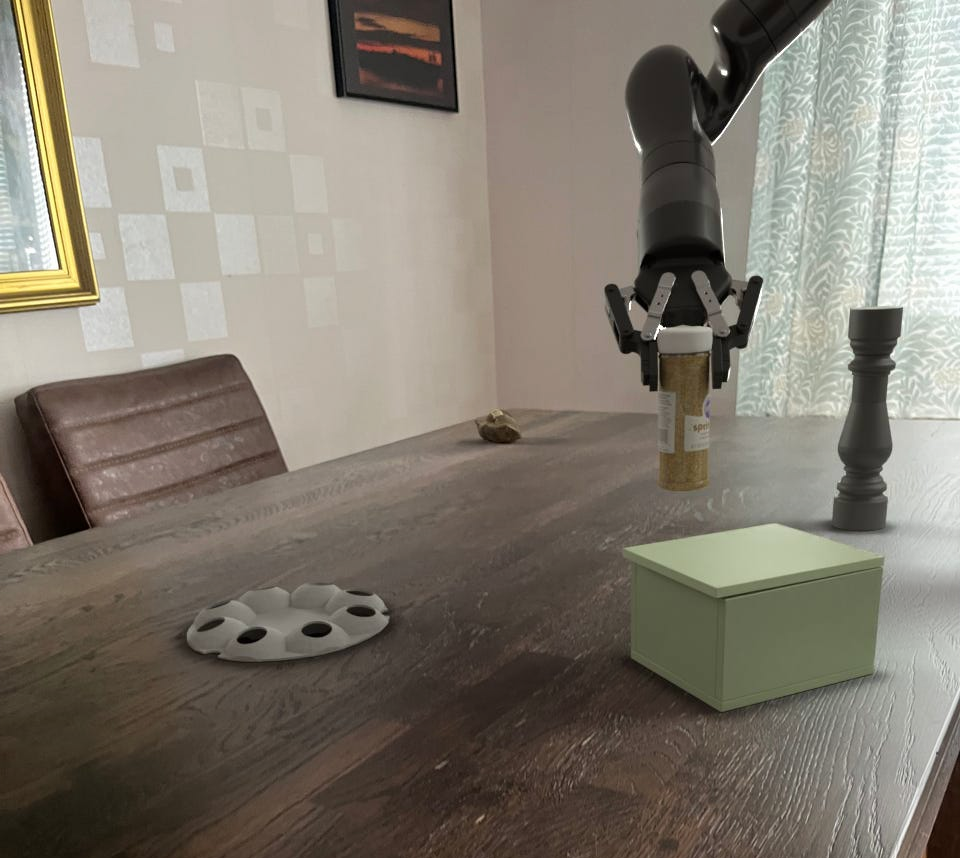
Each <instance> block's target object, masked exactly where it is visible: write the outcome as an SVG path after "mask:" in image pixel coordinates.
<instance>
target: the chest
mask: <svg viewBox="0 0 960 858" xmlns="http://www.w3.org/2000/svg"><path fill="white" fill-rule="evenodd" d="M630 563H631V564H630V592H631V593H630V659H631V660H633V661H636V663H638V664H639V665H642V666H643V667H645V668H647V669H648V670H650V671H651V672H653V673H655V674H657V675H658V676H660V677H662V679H663V678H664V680H667V681H669V682H670V683H671V684H673V685H674V686H677V687H678V688H680V689H682V690H683V691H685V692H687V693H688V694H690V695H692V696H693V697H695V698H697V699H698V700H700V701H702V702H703V703H705V704H707V705H708V706H710V707H711V708H713V709H715V710H716V711H718V712H720V713H723V712H728V711H732V710H736V709H740V708H744V707H747V706H751V705H755V704H759V703H763V702H767V701H771V700H774V699H779V698H782V697H787V696H790V695H794V694H798V693H802V692H806V691H810V690H813V689H818V688H822V687H826V686H829V685H830V686H831V685H834V684H837V683H841V682H845V681H849V680H853V679H857V678H860V677H864V676H869V675H873V674H874V672H875V671H874V670H875V659H876V650H877V649H876V648H877V639H878V638H877V637H878V627H879V616H880V605H881V595H882V585H883V576H884V575H883V573H884V566H881V567H876V568H871V569H866V570H861V571H856V572H850V573H845V574H840V575H835V576H830V577H825V578H819V579H814V580H809V581H804V582H799V583H793V584H788V585H783V586H778V587H773V588H768V589H762V590H757V591H752V592H747V593H742V594H737V595H731V596H726V597H721V598H714V597H712V596H709V595H707V594H705V593H703V592H700V591H698V590H696V589H694V588H691V587H689V586H687V585H684V584H682V583H680V582H678V581H675V580H673V579H671V578H669V577H666V576H664V575H662V574H660V573H657V572H655V571H653V570H651V569H648V568H646V567H644V566H641V565H639V564H637V563H635V562H632V561H630Z"/></svg>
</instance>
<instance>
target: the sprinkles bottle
mask: <svg viewBox="0 0 960 858" xmlns="http://www.w3.org/2000/svg"><path fill="white" fill-rule="evenodd" d="M712 341H713V334H712V329H711V328H710V327H702V326H686V325H685V326H677V327H671V328H666V329H661V330H659V331H658V333H657V347H658V353H659V354H658V391H657V420H658V421H657V448H658V452H659V454H658V455H659V456H658V458H659V460H658V461H659V462H658V464H659V465H658V473H659V474H658V479H657V486H658V487H659V488H661V489H663V490H667V491H673V492H689V491H695V490H700V489H701V490H702V489H704V488H706V487H708V485H709V484H710V478H709V447H710V409H711V408H710V407H711V405H710V403H711V401H710V400H711V396H710V378H711V377H710V372H711V350H712Z"/></svg>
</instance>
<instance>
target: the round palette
mask: <svg viewBox="0 0 960 858" xmlns="http://www.w3.org/2000/svg"><path fill="white" fill-rule="evenodd" d="M357 612H358V613H363V614H366V615H367V616H357V615H354V614H351V613H357ZM385 612H386V613H387V612H389V609H388V608H387V606H386V605H385V603H384V601H383V600H382V599H381V597H379V596H378V595H377V594H375V593H374V592H373V591H370V590H366V589H362V588H354V587H353V588H346V589H343V590H342V589H341V588H339V587H338V586H337V585H335V584H333V583H330V582H329V583H328V582H305V583H304V584H301V585H300V586H298V587H297V588H296V589H295V590H294V591H292V592H291V594H290V593H289V592H288V591H287V590H284V589H283V588H280V587H278V586H268V587H262V588H256V589H255V588H254V589H250V590H248V591H246V592H245V593H244V594H243V595H241V596H240V598H239V599H238V600H231V599H226V600H221V601H219V602H215V603H212V604H209V605H208V606H205V607H203V609H202V610H200V611H199V613H198V614H197V616H196V617H195V619H194V621H193V623H192V624H191V625H190V627H189V628H188V630H187V632H186V643H187V645H188V646H189V647H190V648H191V649H192V650H194V651H195V652H198V653H200V654H202V655H206V654H212V653H218V654H219V655H217V659H221V660H226V661H232V662H233V661H234V662H246V663H247V662H248V663H249V662H250V663H261V662H278V661H288V660H290V661H291V660H297V659H304V658H310V657H311V658H313V657H317V656H318V657H319V656H322V655H327V654H330V653H334V652H338V651H341V650H345V649H347V648H350V647H352V646H356V645H358V644H360V643H363V642H364V641H367V640H368V639H370V638H372V637H374V636H376V635H377V634H379V633H380V632H382V631H383V630H384V629H385V628H386V627H387V625H389V620H390V615H384V614H383V613H385ZM329 630H331V631H330V632H329V633H328V634H327V635H324V636H322V637H321V636H320V637H312V636H309V635H313V634H325V633H327V632H328V631H329ZM242 638H248V639H249V640H252V641H254V640H258V641H255V642H252V643H240V642H238V639H242Z"/></svg>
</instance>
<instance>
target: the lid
mask: <svg viewBox="0 0 960 858" xmlns="http://www.w3.org/2000/svg"><path fill="white" fill-rule="evenodd" d="M622 558H623V559H626V560H627V561H630V562H631V561H632V562H635V563H637V564H639V565H641V566H644V567H646V568H648V569H651V570H653V571H655V572H657V573H660V574H662V575H664V576H666V577H669V578H671V579H673V580H675V581H678V582H680V583H682V584H684V585H687V586H689V587H691V588H694V589H696V590H698V591H700V592H703V593H705V594H707V595H709V596H712V597H714V598H721V597H726V596H731V595H737V594H742V593H747V592H752V591H757V590H762V589H768V588H773V587H778V586H783V585H788V584H793V583H799V582H804V581H809V580H814V579H819V578H825V577H830V576H835V575H840V574H845V573H850V572H856V571H861V570H866V569H871V568H876V567H884V563H885V556H884V555H881V554H878V553H875V552H871V551H868V550H864V549H861V548H858V547H856V546H852V545H848V544H845V543H842V542H838V541H836V540H832V539H829V538H826V537H822V536H821V535H820V536H819V535H816V534H813V533H809V532H806V531H803V530H800V529H797V528H793V527H790V526H787V525H783V524H781V523H777V522H774V523H767V524H761V525H754V526H749V527H742V528H737V529H731V530H725V531H718V532H713V533H707V534H700V535H694V536H688V537H681V538H677V539H669V540H664V541H663V540H662V541H657V542H652V543H646V544H640V545H633V546H627V547H622Z"/></svg>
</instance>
